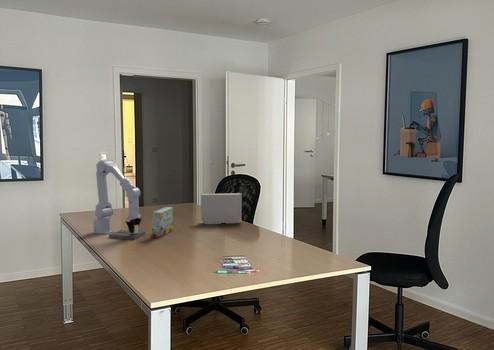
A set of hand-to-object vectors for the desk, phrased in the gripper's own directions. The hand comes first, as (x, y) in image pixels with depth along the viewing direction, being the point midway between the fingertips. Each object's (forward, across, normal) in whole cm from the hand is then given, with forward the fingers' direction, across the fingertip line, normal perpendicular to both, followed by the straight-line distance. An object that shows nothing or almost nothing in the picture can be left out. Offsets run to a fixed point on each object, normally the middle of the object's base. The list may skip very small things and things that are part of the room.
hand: (133, 231), depth 275 cm
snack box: (+3, +12, -13) cm, 18 cm away
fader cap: (+1, 0, 0) cm, 1 cm away
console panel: (+3, 0, +4) cm, 5 cm away
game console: (+3, +55, -37) cm, 66 cm away
